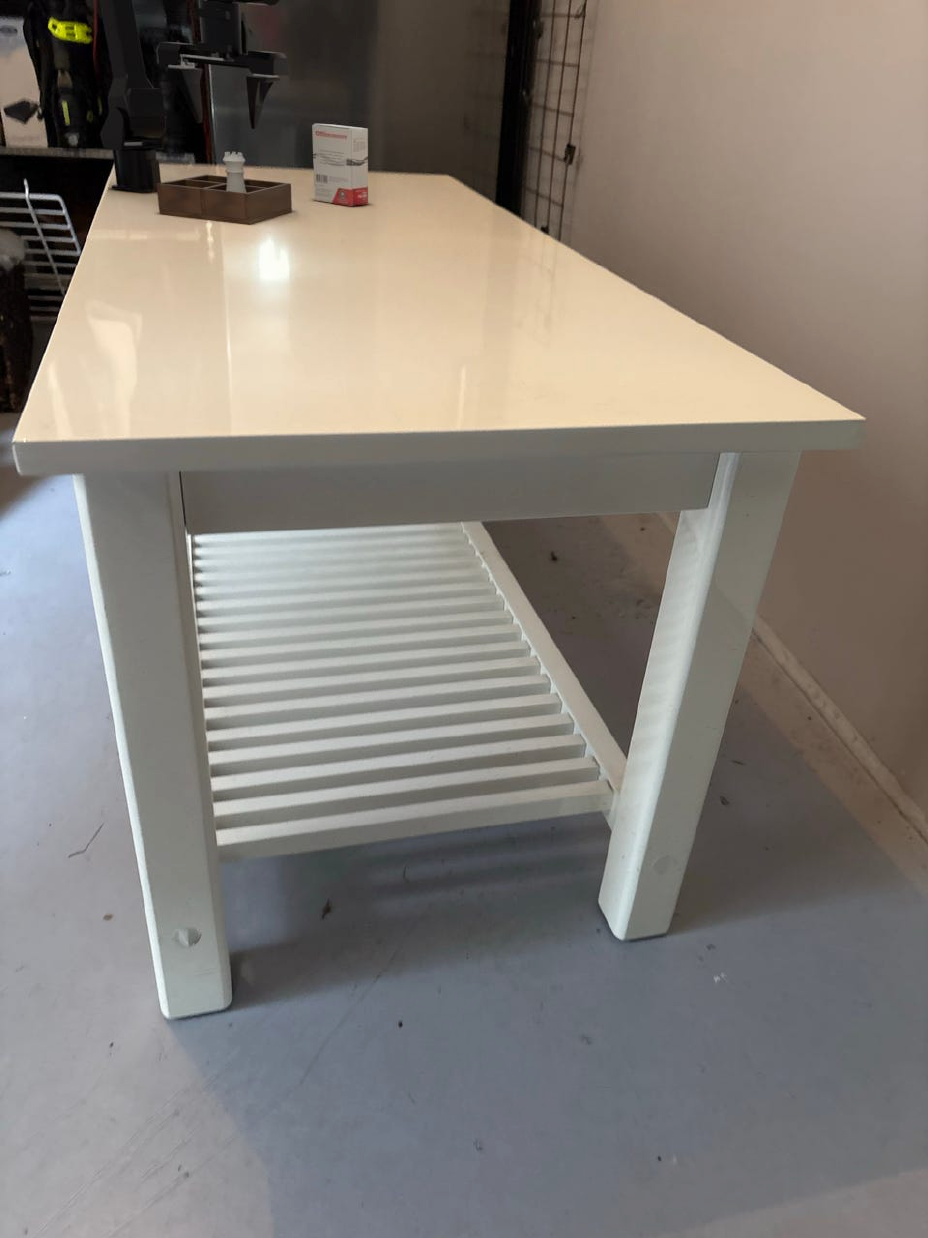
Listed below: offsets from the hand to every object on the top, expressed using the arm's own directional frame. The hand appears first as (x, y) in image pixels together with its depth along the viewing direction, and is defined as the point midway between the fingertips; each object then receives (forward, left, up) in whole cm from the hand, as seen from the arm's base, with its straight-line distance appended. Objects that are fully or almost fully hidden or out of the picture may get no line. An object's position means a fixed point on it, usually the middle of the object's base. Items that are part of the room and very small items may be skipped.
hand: (226, 125), depth 137 cm
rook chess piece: (+5, -7, -11) cm, 14 cm away
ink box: (+11, +18, -12) cm, 24 cm away
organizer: (+1, -4, -12) cm, 12 cm away
